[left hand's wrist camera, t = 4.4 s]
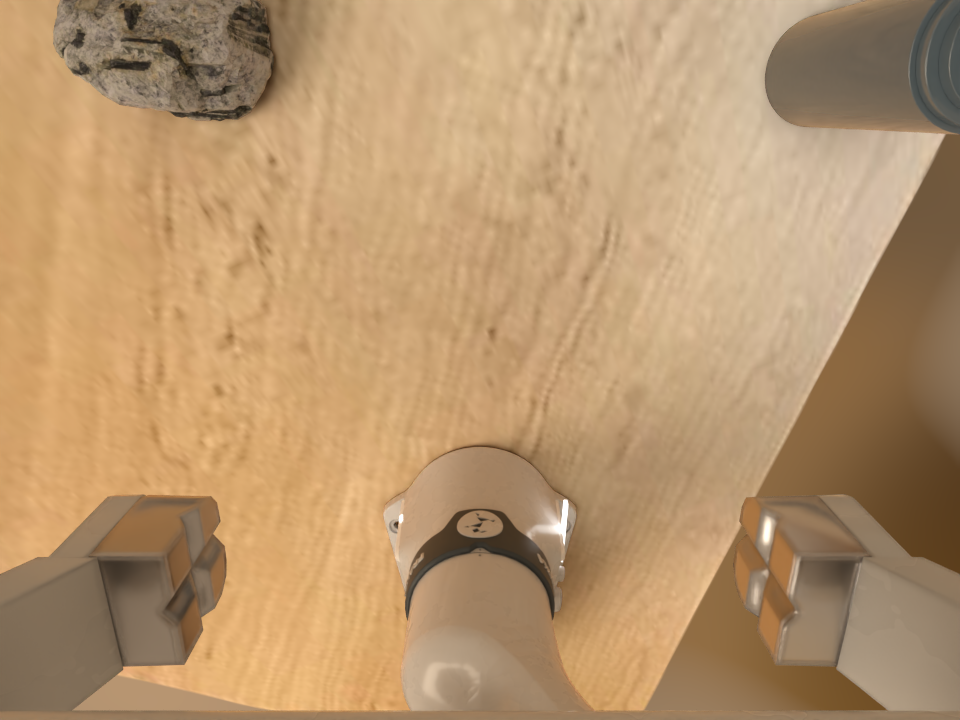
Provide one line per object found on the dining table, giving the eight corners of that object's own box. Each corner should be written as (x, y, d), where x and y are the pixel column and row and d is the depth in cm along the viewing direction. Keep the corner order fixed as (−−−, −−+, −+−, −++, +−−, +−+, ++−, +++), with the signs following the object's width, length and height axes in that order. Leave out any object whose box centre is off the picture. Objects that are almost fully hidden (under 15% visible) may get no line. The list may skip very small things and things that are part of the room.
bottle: (752, 42, 52) (981, -15, 28) (857, -6, 50) (1188, -108, 27) (780, 144, 54) (1011, 169, 31) (880, 100, 53) (1200, 92, 29)
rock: (290, 10, 51) (258, -7, 44) (256, 143, 54) (221, 146, 47) (95, -71, 49) (32, -102, 42) (72, 70, 52) (10, 63, 46)
